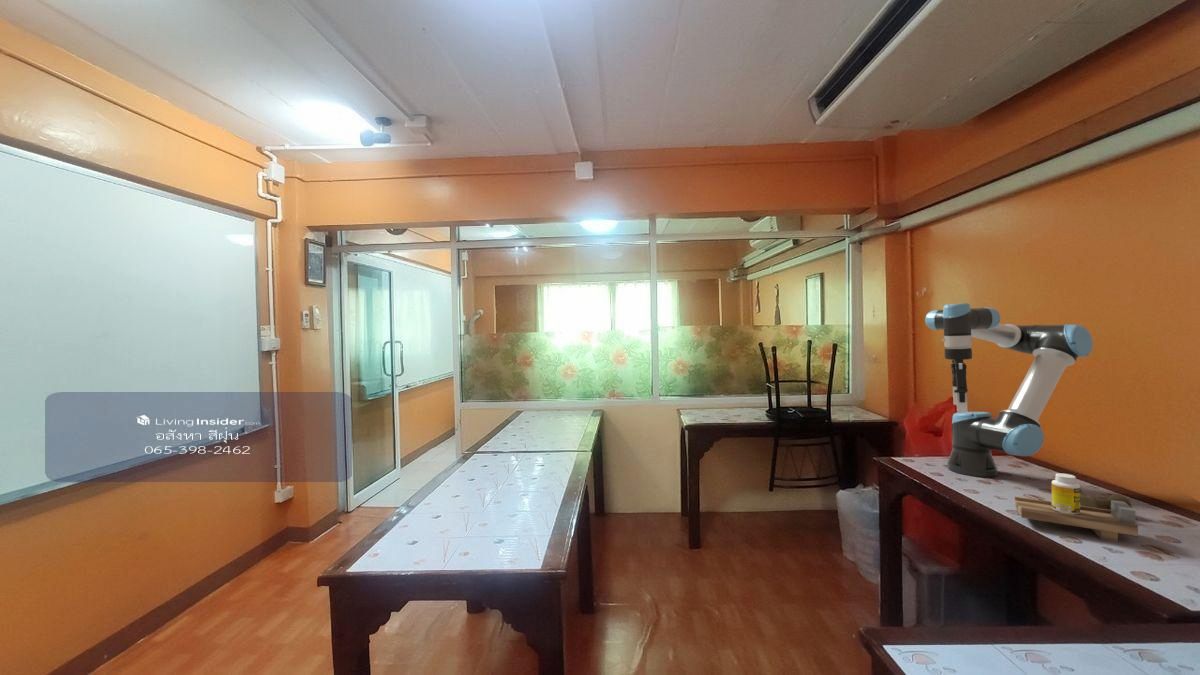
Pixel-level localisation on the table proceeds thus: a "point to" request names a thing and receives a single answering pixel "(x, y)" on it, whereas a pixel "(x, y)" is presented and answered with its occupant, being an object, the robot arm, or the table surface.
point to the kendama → (1101, 501)
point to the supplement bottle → (1066, 494)
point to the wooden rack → (1084, 517)
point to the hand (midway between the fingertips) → (960, 408)
